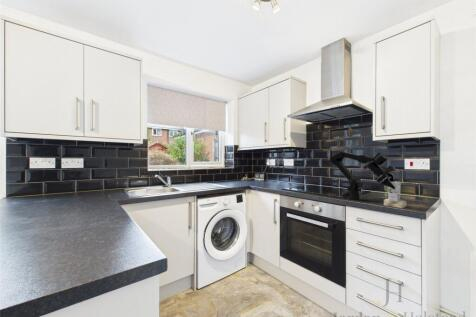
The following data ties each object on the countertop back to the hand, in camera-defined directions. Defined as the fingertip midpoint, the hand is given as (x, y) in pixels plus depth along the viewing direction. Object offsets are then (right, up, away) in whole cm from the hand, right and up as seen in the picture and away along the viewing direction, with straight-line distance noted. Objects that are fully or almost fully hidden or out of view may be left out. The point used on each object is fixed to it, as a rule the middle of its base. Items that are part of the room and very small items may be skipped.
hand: (396, 187), depth 132 cm
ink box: (-1, -8, +1) cm, 8 cm away
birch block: (-1, -12, +1) cm, 12 cm away
